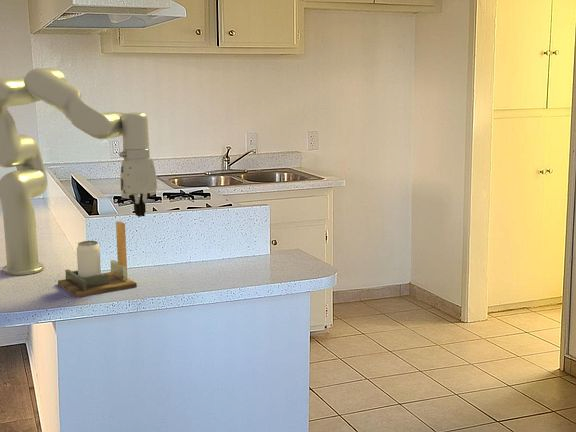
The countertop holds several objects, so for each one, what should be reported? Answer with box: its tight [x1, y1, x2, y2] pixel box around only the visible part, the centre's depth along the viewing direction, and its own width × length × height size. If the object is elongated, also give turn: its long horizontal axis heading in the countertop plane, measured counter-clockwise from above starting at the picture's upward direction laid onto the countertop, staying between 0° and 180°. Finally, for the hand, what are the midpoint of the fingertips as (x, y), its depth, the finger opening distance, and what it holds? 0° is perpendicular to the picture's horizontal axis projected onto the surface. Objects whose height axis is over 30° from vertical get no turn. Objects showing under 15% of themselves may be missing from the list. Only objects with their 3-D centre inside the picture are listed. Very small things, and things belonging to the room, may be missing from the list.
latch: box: [110, 220, 128, 281], centre depth 233 cm, size 10×2×16 cm, turn 34°
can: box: [76, 240, 102, 278], centre depth 228 cm, size 6×6×12 cm
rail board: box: [57, 271, 138, 298], centre depth 230 cm, size 16×18×1 cm
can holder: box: [64, 269, 109, 292], centre depth 228 cm, size 15×9×3 cm, turn 34°
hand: (140, 215), depth 234 cm, fingers closed
